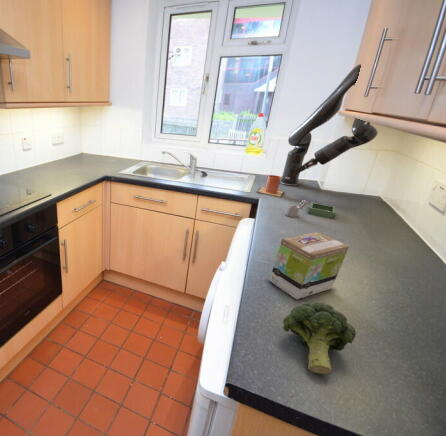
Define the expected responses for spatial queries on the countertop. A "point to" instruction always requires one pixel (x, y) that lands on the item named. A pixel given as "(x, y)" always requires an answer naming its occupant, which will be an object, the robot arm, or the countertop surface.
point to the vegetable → (320, 332)
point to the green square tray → (322, 210)
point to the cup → (272, 184)
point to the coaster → (271, 193)
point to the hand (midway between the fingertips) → (297, 171)
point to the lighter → (295, 209)
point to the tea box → (307, 264)
